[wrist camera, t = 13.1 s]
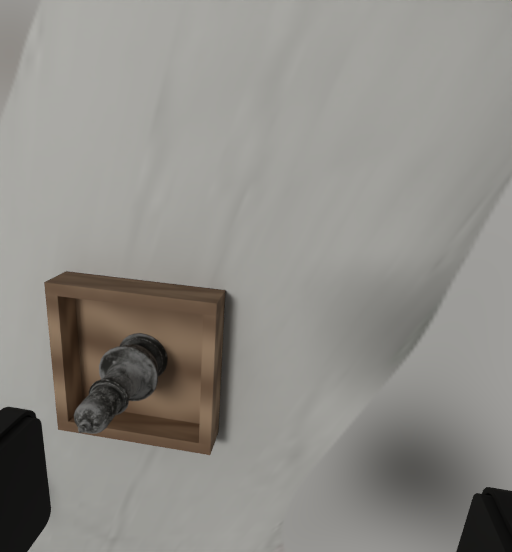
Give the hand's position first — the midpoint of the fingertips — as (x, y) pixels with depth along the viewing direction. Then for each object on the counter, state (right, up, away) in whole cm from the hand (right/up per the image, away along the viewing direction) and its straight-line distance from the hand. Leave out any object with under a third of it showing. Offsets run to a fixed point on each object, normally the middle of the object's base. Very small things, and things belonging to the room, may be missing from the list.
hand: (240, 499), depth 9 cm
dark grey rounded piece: (-11, -3, +34) cm, 36 cm away
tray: (-11, -3, +35) cm, 37 cm away
